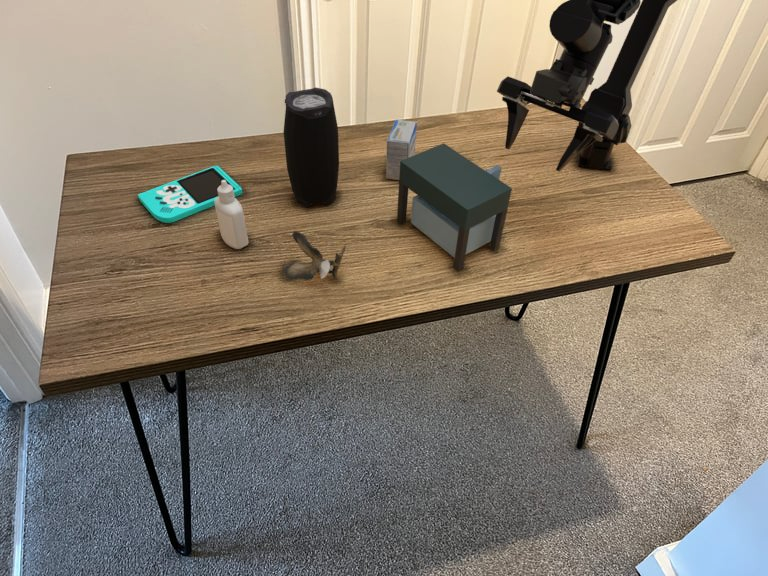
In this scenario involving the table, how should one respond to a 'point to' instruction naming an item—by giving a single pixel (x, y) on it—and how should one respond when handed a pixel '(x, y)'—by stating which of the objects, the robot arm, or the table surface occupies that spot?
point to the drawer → (450, 224)
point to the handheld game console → (186, 195)
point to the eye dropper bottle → (230, 217)
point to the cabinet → (454, 193)
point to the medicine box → (400, 146)
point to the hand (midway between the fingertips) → (531, 159)
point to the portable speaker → (311, 146)
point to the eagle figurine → (317, 265)
